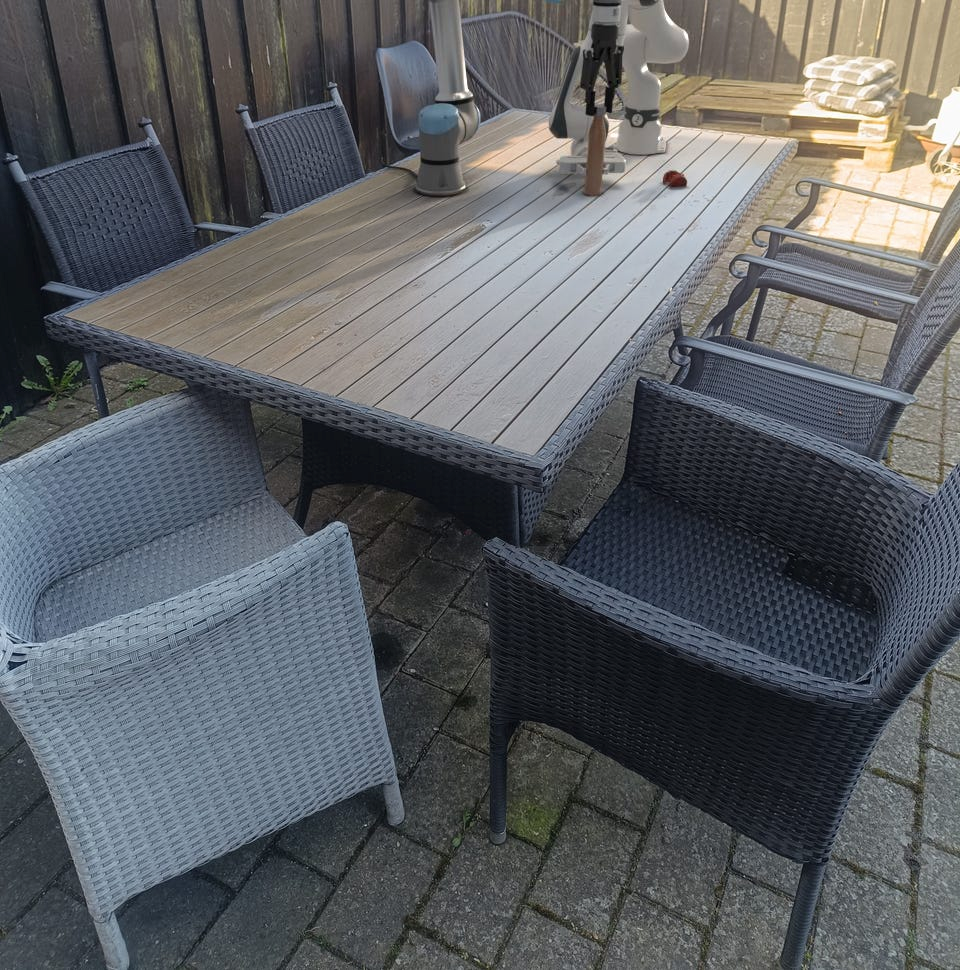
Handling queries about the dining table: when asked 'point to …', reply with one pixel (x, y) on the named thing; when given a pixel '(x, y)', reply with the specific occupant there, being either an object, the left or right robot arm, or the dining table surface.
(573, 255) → the dining table surface
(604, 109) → the cap
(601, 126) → the bottle
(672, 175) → the dental model
